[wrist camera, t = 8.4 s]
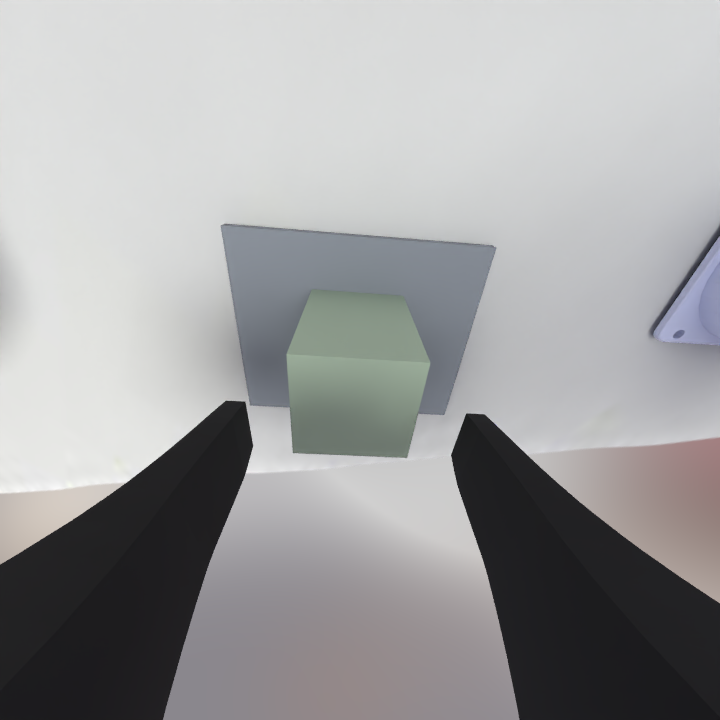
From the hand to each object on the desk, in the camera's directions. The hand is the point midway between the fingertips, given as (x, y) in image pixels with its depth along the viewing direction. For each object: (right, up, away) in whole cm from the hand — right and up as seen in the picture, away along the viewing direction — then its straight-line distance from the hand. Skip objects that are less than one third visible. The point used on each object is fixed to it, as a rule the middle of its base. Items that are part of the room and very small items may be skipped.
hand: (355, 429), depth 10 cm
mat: (0, +4, +6) cm, 7 cm away
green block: (0, +4, +5) cm, 7 cm away
